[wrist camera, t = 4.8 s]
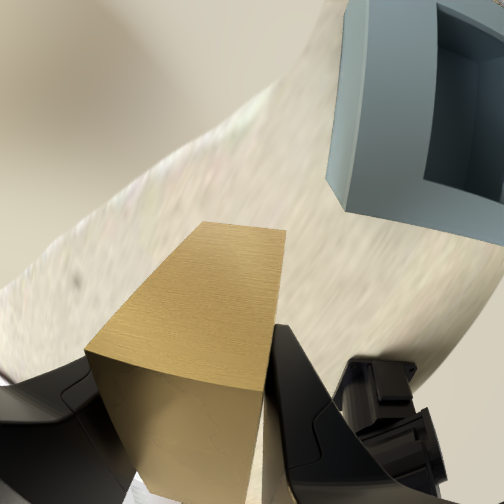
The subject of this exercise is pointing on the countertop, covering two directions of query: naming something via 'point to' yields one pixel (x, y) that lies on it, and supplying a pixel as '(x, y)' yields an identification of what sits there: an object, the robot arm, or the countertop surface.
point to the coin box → (422, 115)
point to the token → (194, 363)
